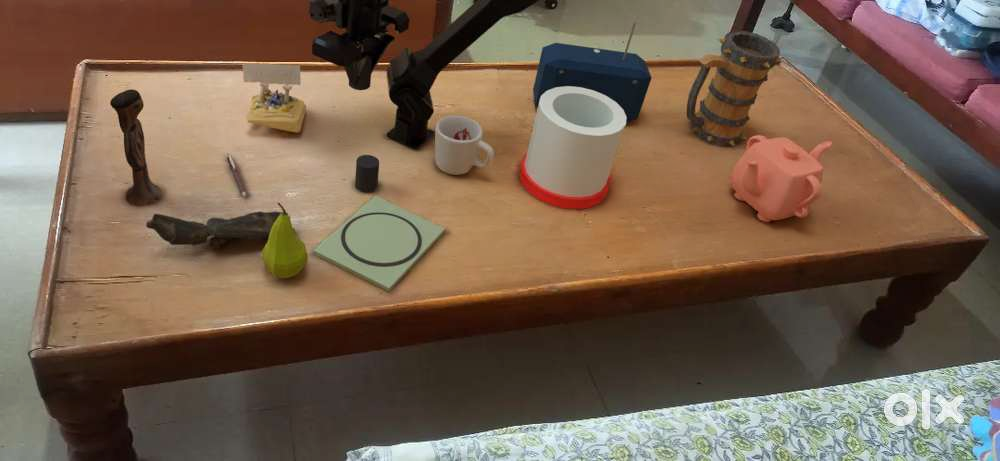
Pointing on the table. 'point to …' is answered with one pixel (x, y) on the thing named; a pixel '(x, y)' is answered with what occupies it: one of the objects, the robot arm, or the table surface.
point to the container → (572, 147)
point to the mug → (731, 87)
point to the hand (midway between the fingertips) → (360, 79)
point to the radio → (595, 74)
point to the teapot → (778, 177)
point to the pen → (236, 174)
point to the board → (380, 242)
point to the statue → (213, 228)
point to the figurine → (135, 148)
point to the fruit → (284, 249)
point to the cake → (275, 97)
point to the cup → (459, 145)
